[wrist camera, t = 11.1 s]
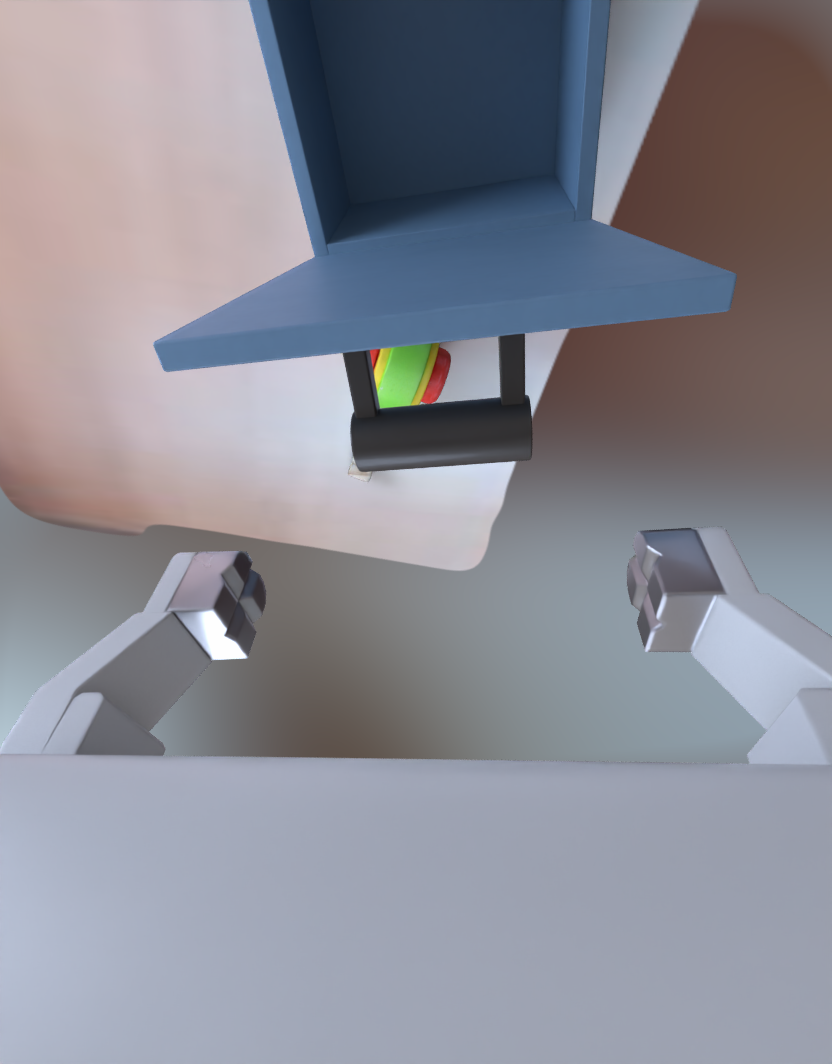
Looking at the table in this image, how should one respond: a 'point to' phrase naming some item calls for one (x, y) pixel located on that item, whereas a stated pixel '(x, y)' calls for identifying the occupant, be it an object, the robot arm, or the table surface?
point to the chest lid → (450, 324)
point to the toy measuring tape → (407, 379)
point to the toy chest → (436, 114)
